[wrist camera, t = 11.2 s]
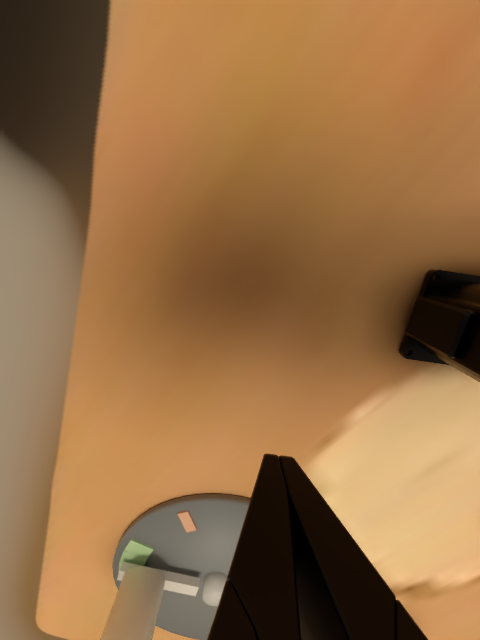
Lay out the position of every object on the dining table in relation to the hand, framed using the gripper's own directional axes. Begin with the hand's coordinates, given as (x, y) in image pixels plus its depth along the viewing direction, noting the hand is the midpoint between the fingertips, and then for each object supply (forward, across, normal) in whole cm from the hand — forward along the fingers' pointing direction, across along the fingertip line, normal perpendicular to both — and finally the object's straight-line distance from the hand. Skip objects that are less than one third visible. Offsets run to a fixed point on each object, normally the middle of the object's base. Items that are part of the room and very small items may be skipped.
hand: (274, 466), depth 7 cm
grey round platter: (+12, 0, +27) cm, 29 cm away
